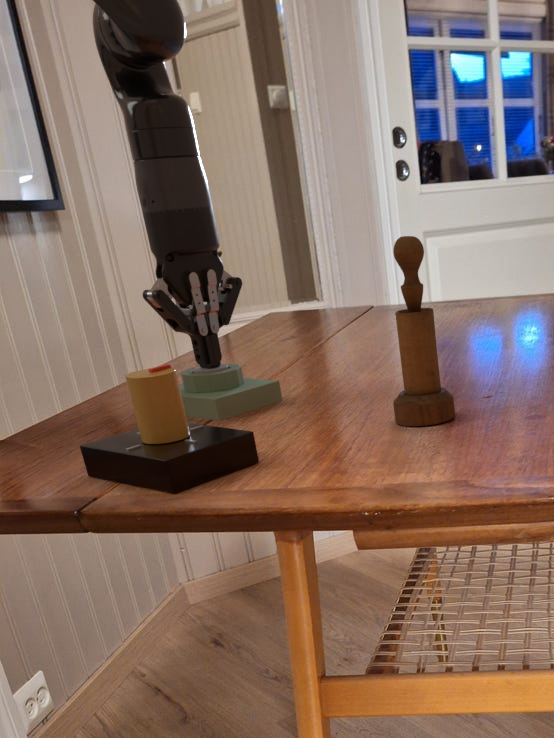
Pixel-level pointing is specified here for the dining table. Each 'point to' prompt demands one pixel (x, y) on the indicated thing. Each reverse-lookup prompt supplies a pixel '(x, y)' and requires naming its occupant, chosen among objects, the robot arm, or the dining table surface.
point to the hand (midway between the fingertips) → (210, 367)
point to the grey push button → (216, 369)
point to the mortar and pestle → (418, 348)
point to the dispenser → (225, 393)
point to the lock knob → (158, 405)
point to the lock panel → (170, 458)
